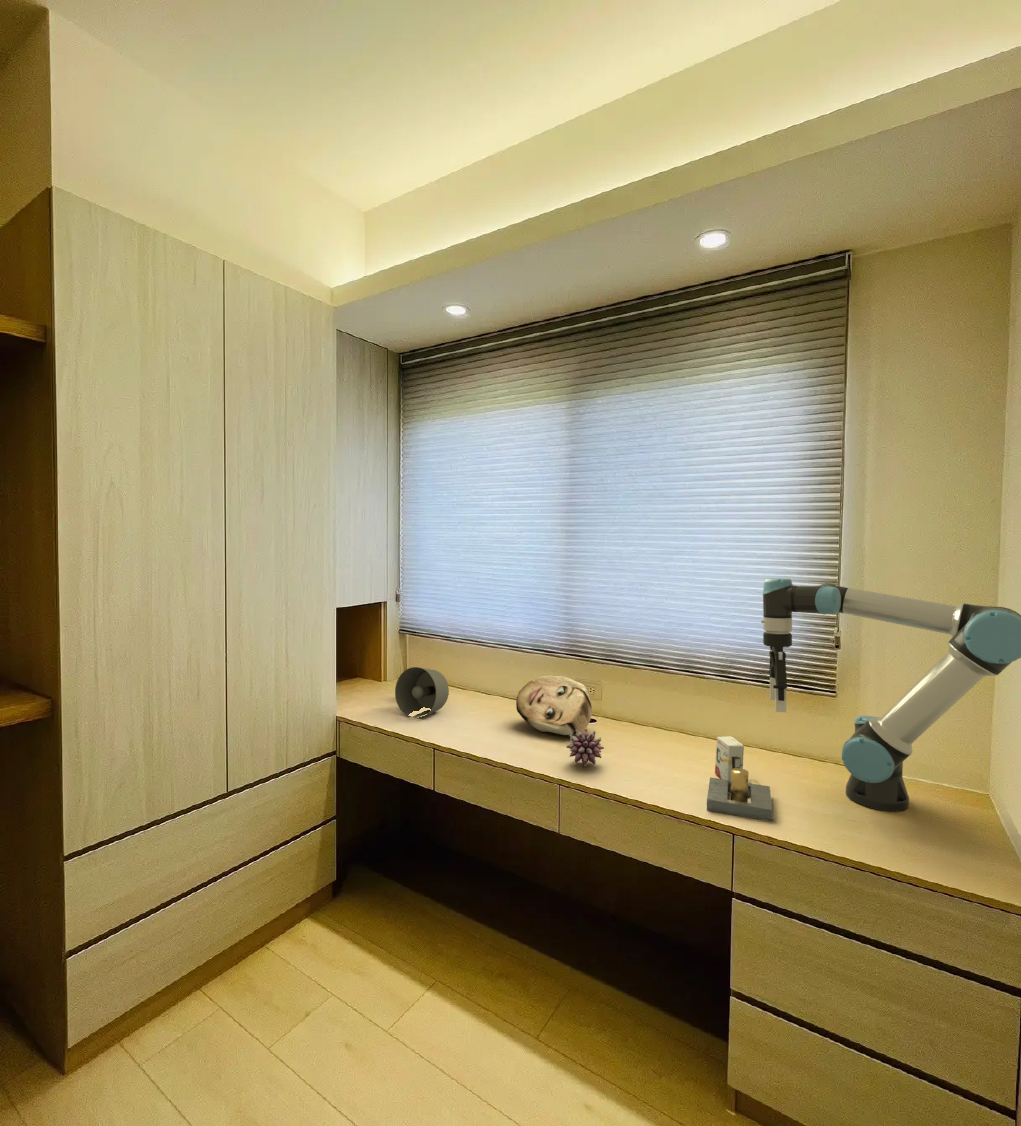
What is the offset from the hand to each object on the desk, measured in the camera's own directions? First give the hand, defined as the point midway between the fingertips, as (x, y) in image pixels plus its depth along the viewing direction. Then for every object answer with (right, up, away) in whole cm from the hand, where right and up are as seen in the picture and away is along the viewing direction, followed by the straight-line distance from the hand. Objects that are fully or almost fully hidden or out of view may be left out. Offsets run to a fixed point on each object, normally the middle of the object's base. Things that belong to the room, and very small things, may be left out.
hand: (777, 705), depth 169 cm
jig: (-14, -25, -7) cm, 30 cm away
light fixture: (-112, -21, +80) cm, 140 cm away
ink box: (-11, -25, +10) cm, 29 cm away
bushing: (-14, -25, -7) cm, 30 cm away
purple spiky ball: (-53, -24, +19) cm, 61 cm away
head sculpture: (-62, -23, +54) cm, 85 cm away
